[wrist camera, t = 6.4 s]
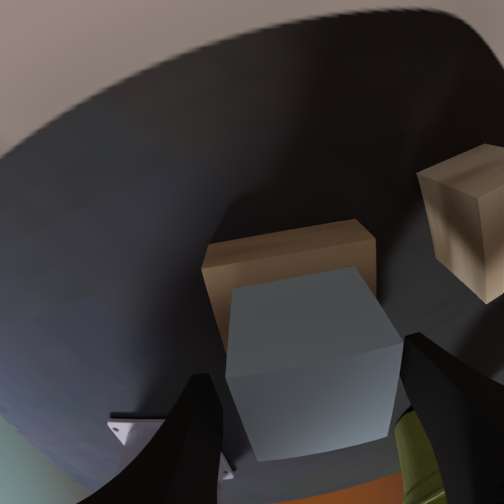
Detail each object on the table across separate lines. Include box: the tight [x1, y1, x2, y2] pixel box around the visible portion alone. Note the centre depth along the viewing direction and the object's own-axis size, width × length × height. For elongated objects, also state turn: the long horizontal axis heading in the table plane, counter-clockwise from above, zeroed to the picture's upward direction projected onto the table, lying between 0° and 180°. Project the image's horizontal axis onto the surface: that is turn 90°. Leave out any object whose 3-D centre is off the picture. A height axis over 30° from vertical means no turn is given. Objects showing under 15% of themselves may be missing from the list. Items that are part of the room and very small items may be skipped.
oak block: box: [201, 219, 376, 355], centre depth 15 cm, size 7×7×3 cm
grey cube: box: [225, 266, 403, 462], centre depth 11 cm, size 5×5×5 cm
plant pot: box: [395, 410, 447, 504], centre depth 17 cm, size 9×9×9 cm
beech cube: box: [416, 144, 504, 304], centre depth 12 cm, size 5×5×5 cm
